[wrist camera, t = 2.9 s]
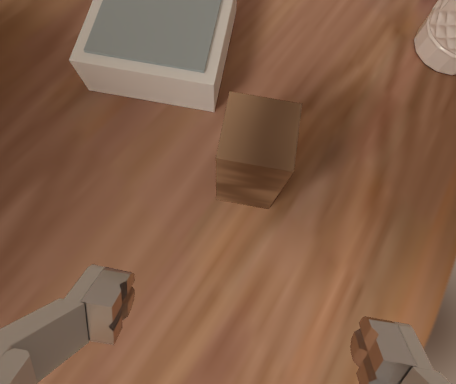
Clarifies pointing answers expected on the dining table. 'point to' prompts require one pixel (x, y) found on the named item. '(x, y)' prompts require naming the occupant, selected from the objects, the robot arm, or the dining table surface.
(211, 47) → the base tray
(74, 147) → the dining table surface
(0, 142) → the dining table surface
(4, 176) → the dining table surface
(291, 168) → the walnut block
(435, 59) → the white cup
